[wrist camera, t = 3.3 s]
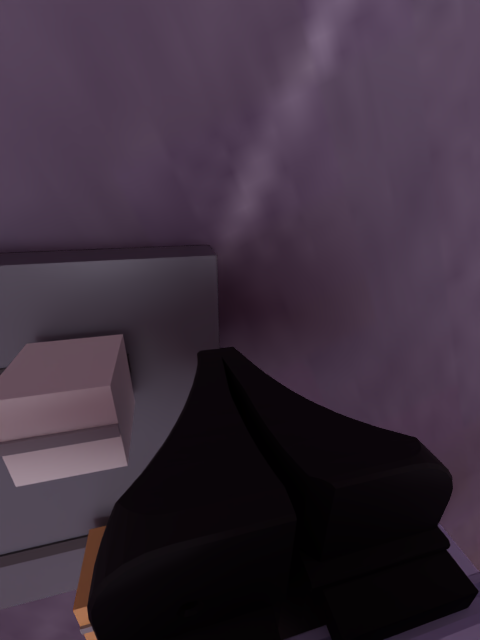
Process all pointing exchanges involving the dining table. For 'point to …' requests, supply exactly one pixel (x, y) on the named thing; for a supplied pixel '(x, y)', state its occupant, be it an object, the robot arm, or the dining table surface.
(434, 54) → the dining table surface
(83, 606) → the fader orange
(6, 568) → the mixer board
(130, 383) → the block
